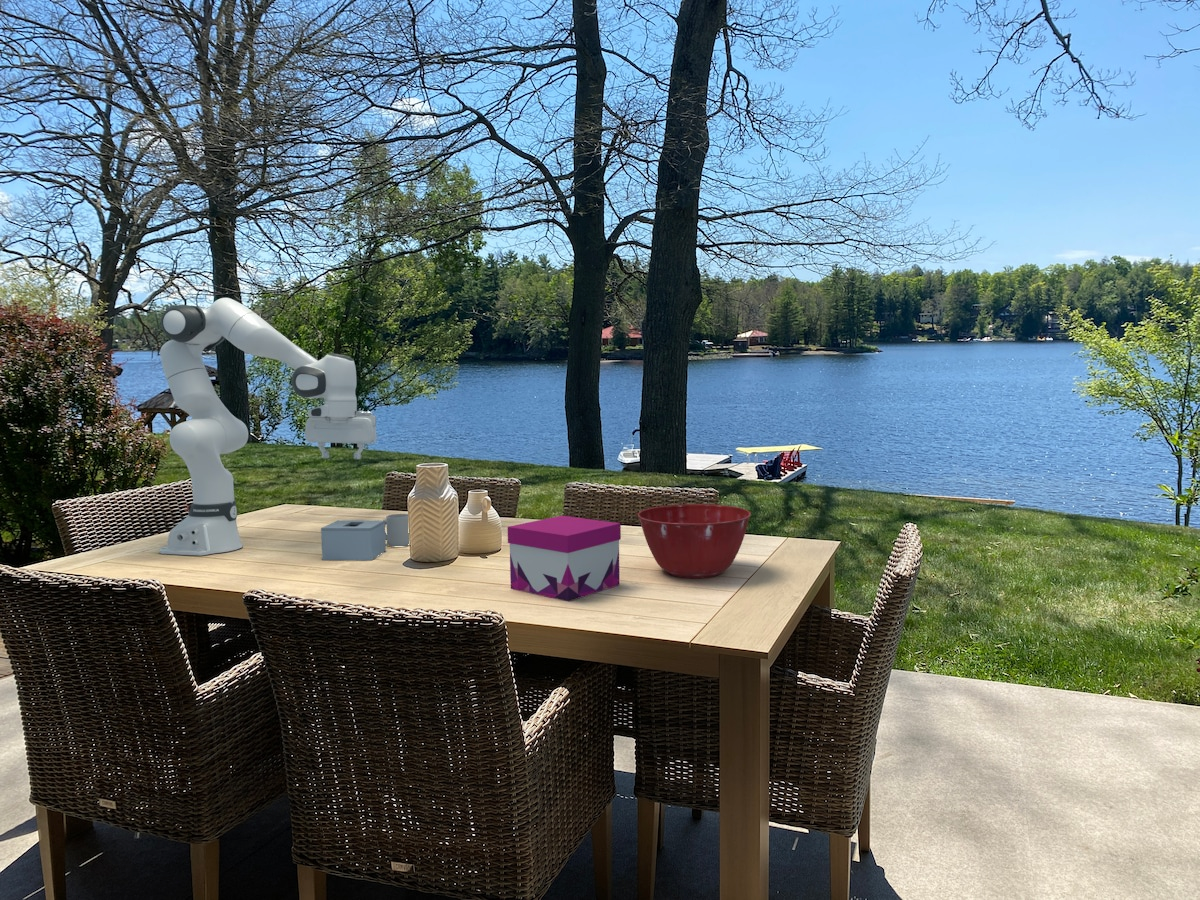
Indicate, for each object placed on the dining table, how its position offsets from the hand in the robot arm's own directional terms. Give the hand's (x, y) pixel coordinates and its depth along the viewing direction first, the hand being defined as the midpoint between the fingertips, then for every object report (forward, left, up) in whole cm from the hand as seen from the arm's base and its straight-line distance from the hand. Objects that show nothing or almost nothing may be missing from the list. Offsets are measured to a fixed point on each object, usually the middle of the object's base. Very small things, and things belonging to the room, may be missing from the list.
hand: (341, 458), depth 242 cm
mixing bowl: (+100, -24, -27) cm, 107 cm away
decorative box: (+69, -40, -27) cm, 84 cm away
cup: (+12, +9, -27) cm, 31 cm away
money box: (+5, -6, -27) cm, 28 cm away
